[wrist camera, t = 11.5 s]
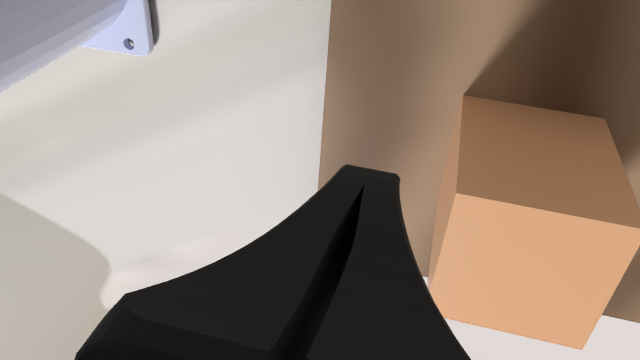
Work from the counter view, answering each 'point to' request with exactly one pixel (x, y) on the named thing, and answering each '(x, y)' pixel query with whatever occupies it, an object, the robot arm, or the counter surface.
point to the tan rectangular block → (531, 222)
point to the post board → (474, 89)
